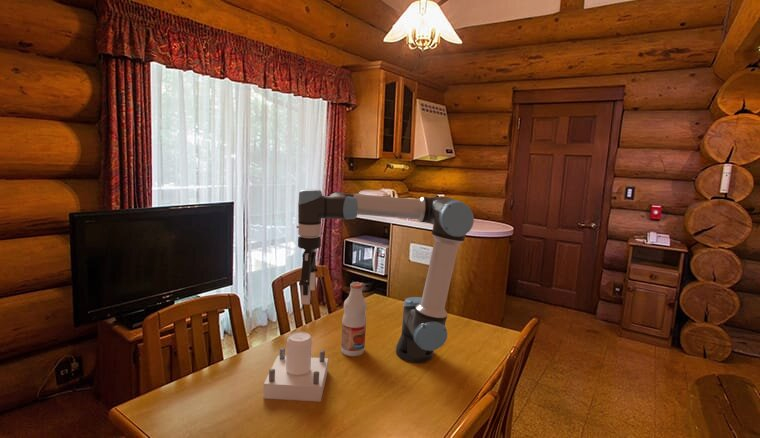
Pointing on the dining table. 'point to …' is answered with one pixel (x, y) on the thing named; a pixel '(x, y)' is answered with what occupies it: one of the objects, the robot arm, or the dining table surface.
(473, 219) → the robot arm
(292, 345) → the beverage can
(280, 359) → the peg stand
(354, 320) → the fruit juice
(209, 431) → the dining table surface
